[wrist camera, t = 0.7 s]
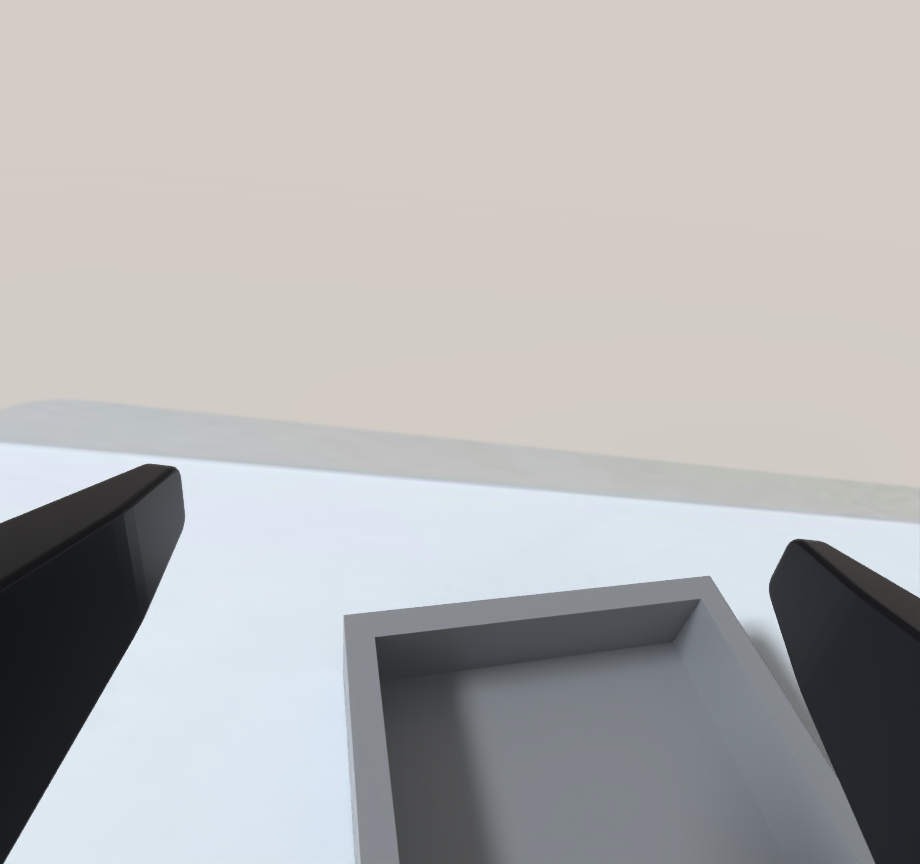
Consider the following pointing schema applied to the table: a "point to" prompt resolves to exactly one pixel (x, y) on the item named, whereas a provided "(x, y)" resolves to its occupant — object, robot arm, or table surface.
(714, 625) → the tray
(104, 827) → the table surface
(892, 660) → the robot arm
